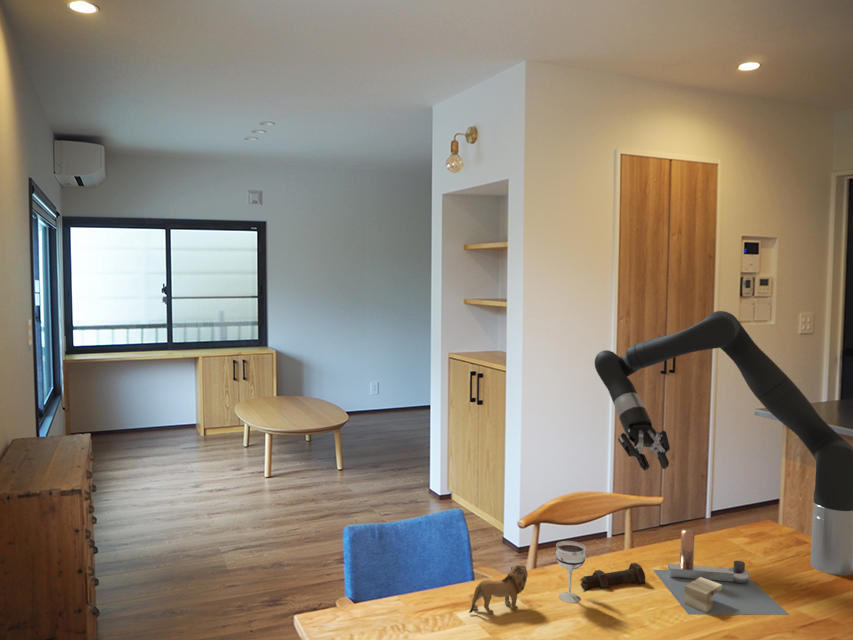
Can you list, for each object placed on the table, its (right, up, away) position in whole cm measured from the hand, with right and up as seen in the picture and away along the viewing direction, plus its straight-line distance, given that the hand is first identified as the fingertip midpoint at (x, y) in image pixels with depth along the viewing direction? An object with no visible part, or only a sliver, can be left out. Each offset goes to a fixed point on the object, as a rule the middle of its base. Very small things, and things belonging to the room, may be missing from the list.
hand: (656, 467), depth 176 cm
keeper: (+2, -25, -25) cm, 35 cm away
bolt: (-16, -26, -15) cm, 34 cm away
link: (+8, -24, -12) cm, 28 cm away
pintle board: (+8, -26, -18) cm, 32 cm away
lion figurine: (-43, -26, -25) cm, 56 cm away
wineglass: (-27, -26, -20) cm, 42 cm away
